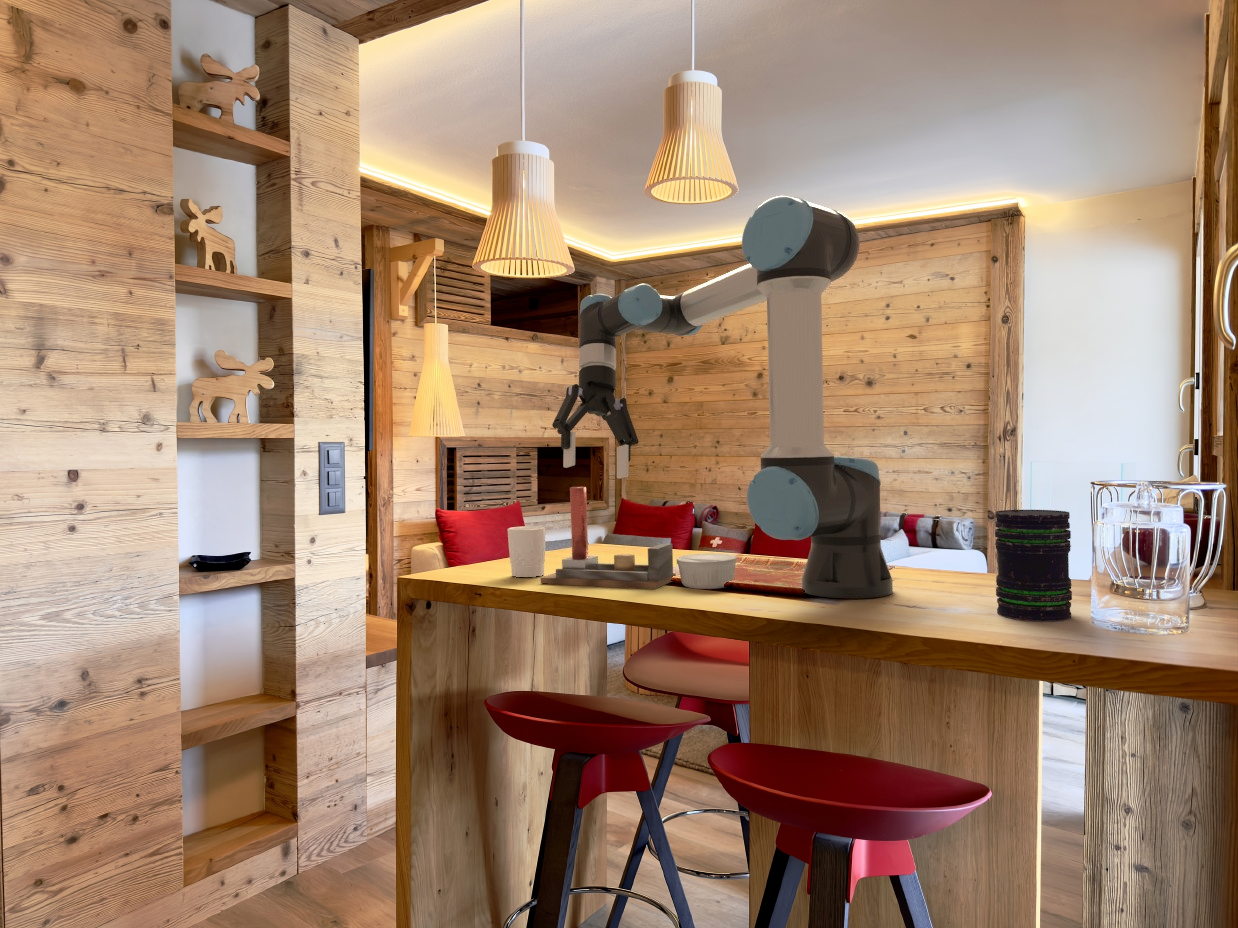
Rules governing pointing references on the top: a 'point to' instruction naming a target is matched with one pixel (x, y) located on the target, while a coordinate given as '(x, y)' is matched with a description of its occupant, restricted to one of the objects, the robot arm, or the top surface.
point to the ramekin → (706, 570)
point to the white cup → (527, 550)
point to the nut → (624, 562)
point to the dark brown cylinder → (1033, 565)
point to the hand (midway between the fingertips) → (596, 472)
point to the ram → (579, 533)
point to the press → (622, 573)
